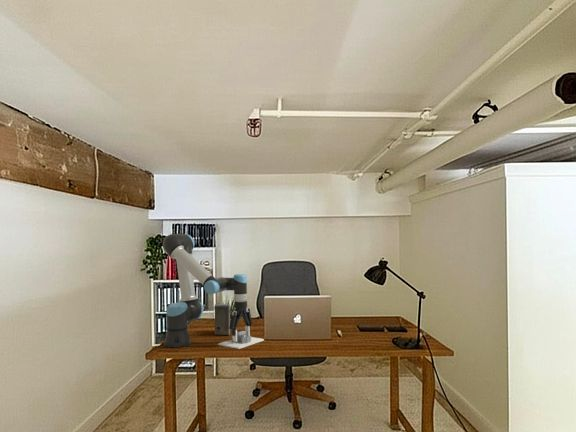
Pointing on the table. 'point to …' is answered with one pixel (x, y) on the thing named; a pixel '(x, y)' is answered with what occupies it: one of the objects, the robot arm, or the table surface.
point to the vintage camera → (222, 319)
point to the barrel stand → (244, 342)
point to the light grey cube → (241, 336)
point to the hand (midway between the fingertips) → (241, 339)
